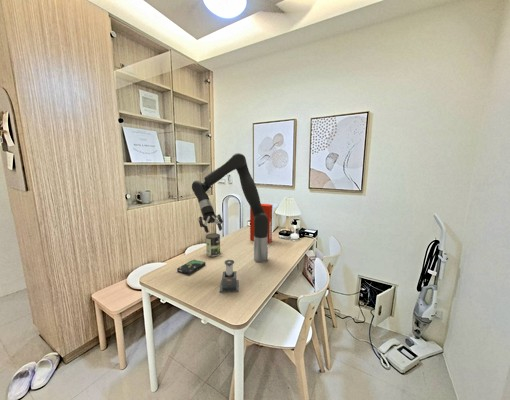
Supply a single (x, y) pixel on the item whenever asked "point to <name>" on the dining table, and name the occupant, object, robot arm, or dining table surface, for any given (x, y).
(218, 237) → the coffee can
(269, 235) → the file binder
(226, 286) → the stand
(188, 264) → the disk drive
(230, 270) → the column
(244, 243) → the dining table surface
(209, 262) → the dining table surface
